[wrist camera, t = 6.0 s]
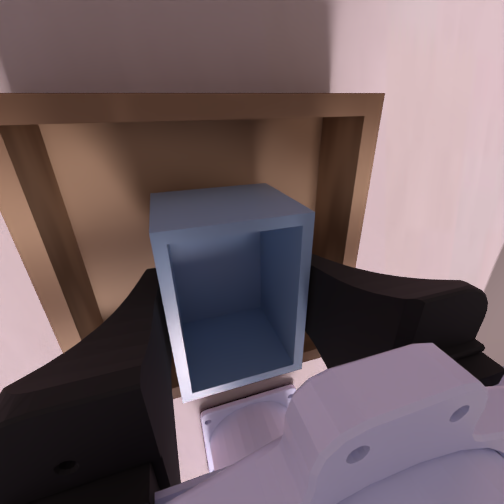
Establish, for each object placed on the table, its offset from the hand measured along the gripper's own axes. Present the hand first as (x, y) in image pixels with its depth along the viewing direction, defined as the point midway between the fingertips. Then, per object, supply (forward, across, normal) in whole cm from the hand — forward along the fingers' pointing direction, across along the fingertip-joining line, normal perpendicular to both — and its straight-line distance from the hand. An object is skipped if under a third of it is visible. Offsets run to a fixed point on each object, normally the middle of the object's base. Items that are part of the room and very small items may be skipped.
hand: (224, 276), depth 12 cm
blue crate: (+2, 0, 0) cm, 2 cm away
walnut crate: (+4, 0, 0) cm, 4 cm away
